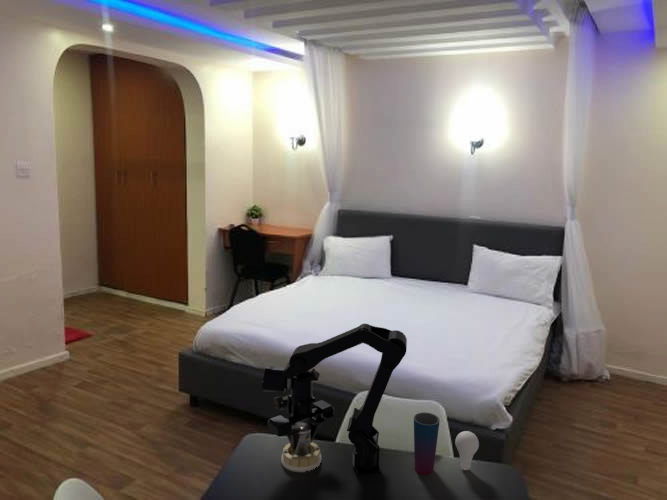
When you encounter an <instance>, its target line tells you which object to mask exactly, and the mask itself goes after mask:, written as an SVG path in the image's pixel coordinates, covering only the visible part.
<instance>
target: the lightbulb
mask: <svg viewBox="0 0 667 500" xmlns="http://www.w3.org/2000/svg"><path fill="white" fill-rule="evenodd" d="M454 442H455V444H454V445H455V447H456V449H457V452H458V454H459V461H460V468H461V469H462V470H463V471H469V470H470V469H471V463H472V462H473V457H474V456H475V454H476V453H477V451H478V449H479V446H480V442H479V438H478V436H476V434H475V433H474V432H472V431H470V430H464V431H461V432H459V433H458V434H457V435H456V438H455V440H454Z"/></svg>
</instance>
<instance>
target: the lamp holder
mask: <svg viewBox="0 0 667 500" xmlns="http://www.w3.org/2000/svg"><path fill="white" fill-rule="evenodd" d="M280 459H281V465H282V467H284V468H285V469H286V470H287V471H290V472H293V473H307V472H306V471H308V472H312V471H314V470H316V469H317V468H318V467H319V466H321V464H322V453H321V450H320V447H319V445H318V444H316V443H315V442H313V441H312V442H311V451H310V453H309V454H308V455H305V456H297V455H295V454H293V452H292V447H291V445H290V442H288V443H287V444H285V446H284V447H283V449H282V454H281V457H280ZM320 463H321V464H320ZM316 467H317V468H316ZM315 468H316V469H315ZM313 469H314V470H313ZM311 470H312V471H311Z"/></svg>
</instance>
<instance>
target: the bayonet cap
mask: <svg viewBox="0 0 667 500" xmlns="http://www.w3.org/2000/svg"><path fill="white" fill-rule="evenodd" d="M295 429H296V430H298V438H297V445H296V449H295V450H293V449H292V452H293V454H295V455H297V456H305V455H308V454H309V453H310V451H311V425H309V424H307V422H299V423H296V424H295Z"/></svg>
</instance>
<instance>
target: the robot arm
mask: <svg viewBox="0 0 667 500" xmlns="http://www.w3.org/2000/svg"><path fill="white" fill-rule="evenodd" d="M407 343H408V340H407V336H406V335H405V334H404V332H402V331H400V330H398V329H397V330H396V329H394V330H391V329H388V328H385V327H379V326H374V325H371V324H369V323H362V324H360V325H359V326H356V327H354V328H352V329H348V330H346V331H345V332H342V333H341V334H340V333H339V334H337V335H335V336H333V337H331V338H328V339H326V340H324V341H322V342H317V343H316V342H315V343H314V342H310V343H305V344H302V345H299V346H297V347H296V348H295V349H294V351H293V352H292V354H291V356H290V357H289V360H288V362H287V364H286V365H285V367H283V366H282V367H281V366H272V365H266V366H265V368H264V373H263V377H262V382H261V388H262V391H263V392H270V393H285V392H286V390H289V389H290V394H288V395H286V396H280V395H279V396H276V397H273V407H274V409H275V410H280V411H285V412H286V414H288V415H291V416H289V417H287V418H286V417H284V416H282V415H280V414H279V415H277V416H274V417H271V418H269V419H268V420H267V429H268V430H269V431H270V432H272V433H273V434H274V435H275V436H277V437H284V436H286V437H287V440H288V443H290V445H291V447H292V449H293V450H295V449H296V445H297V438H298V430H296V429H295V424H296V423H303V422H304V421H306V423H307V424H309V425H311V442H313V440H314V439H315V437H316V435H317V433H318V431H319V430H320V428H321V426H322V425H323V423H325V422H326V420H327V419H330V418H332V417H334V416H335V408H334V406H333V405H331V404H330V403H328V402H326V401H325V400H323V399H321V400H318V401H316V397H315V396H313V382H317V381H318V380H319V378H320V375H321V374H320V372H319V371H316V369H315V368H316V367H317V365H319V364H320V363H321V362H323V361H324V360H325V359H327V358H330V357H332V356H335V355H337V354H340V353H343V352H345V351H347V350H350V349H352V348H355V347H357V346H359V345H361V344H365V345H367V346H369V347H371V348H372V349H374V350H375V351H377V352H379V353H381V356H380V362H379V364H378V366H377V369H376V371H375V374H374V377H373V379H372V381H371V384H370V387H369V389H368V392H367V394H366V396H365V398H364V401H363V404H362V406H361V407H360V408H359V409H358V408H357V407H354V408H353V412H352V415H351V417H350V418H349V419H348V424H347V429H346V432H348V435H347V437H348V440H349V442H350V443H351V444H352V445H353V447H354V449H352V452H351V453H352V454H351V455H352V458H351V461H352V462H351V463H352V466H353V469H355V471H356V474H357V475H363V474H371V473H372V474H373V473H380V472H382V469H381V466H380V453H381V451H380V449H381V447H380V445H379V435H380V432H379V431H378V429H376V427H375V426H373V424H374V420H375V419H374V418H375V415H376V412H377V410H378V409H379V408H378V407H379V405H380V403H381V401H382V398H383V396H384V394H385V391H386V389H387V386H388V383H389V382H390V378H391V376H392V374H393V372H394V371H395V370H396V368H397V367H398V366H399V365H400V363H401V361H402V360H403V358H404V357H405V356H406V354H407V345H408V344H407ZM314 367H315V368H314Z"/></svg>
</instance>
